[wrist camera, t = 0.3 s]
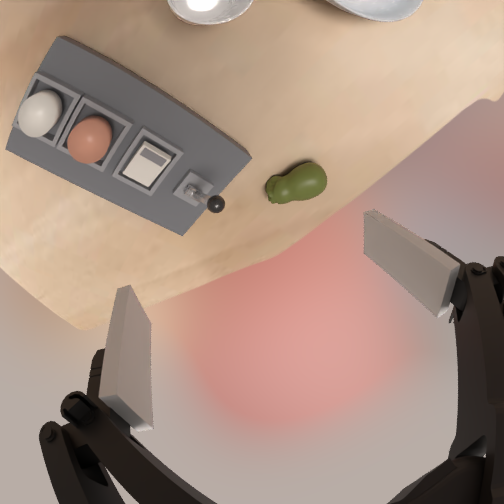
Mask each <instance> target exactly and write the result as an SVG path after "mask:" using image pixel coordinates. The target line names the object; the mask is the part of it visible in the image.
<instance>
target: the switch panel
mask: <svg viewBox="0 0 504 504" xmlns="http://www.w3.org/2000/svg"><path fill="white" fill-rule="evenodd" d="M42 90H52V91H54V92H55V93H57V94H58V96H59V97H60V99H61V102H62V114H61V116H60V119H59V120H58V122H57V123H56V124H55V125H54V126H53V127H52V128H51V129H50V130H49V131H48V132H47V133H46V134H44V135H42V136H40V137H30V136H28V135H26V134H25V133H24V132H23V131H22V130H21V128H20V126H19V122H18V114H19V110H20V107H21V105H22V104H23V102H24V101H25V100H26V99H28V98H29V97H31V96H32V95H34V94H36V93H38V92H39V91H42ZM93 115H94V116H100V117H103V118H104V119H106V120H107V121H108V122H109V124H110V126H111V128H112V140H111V143H110V145H109V147H108V149H107V152H106V153H105V155H104V156H103V157H102V158H101V159H100V160H98V161H97V162H94V163H90V164H85V163H81V162H78V161H77V160H75V159H74V158H73V157H72V156H71V154H70V153H69V150H68V145H67V142H68V137H69V134H70V133H71V131H72V130H73V129H74V127H75V126H76V125H77V124H78V123H79V122H80V121H81V120H82V119H84V118H85V117H88V116H93ZM12 126H13V128H12V130H11V133H10V136H9V139H8V142H7V145H6V150H8V151H10V152H12V153H14V154H16V155H18V156H20V157H22V158H23V159H25V160H27V161H29V162H31V163H33V164H35V165H37V166H39V167H41V168H43V169H45V170H47V171H49V172H51V173H53V174H55V175H57V176H59V177H61V178H63V179H65V180H67V181H69V182H71V183H73V184H75V185H77V186H79V187H81V188H83V189H85V190H88V191H90V192H92V193H94V194H96V195H98V196H100V197H102V198H104V199H106V200H108V201H110V202H112V203H114V204H116V205H118V206H120V207H122V208H124V209H127V210H129V211H131V212H133V213H135V214H137V215H139V216H141V217H143V218H145V219H147V220H150V221H152V222H154V223H156V224H158V225H160V226H162V227H164V228H166V229H168V230H171V231H173V232H175V233H177V234H179V235H181V236H183V235H184V234H185V233H186V232H187V230H188V229H189V228H190V227H191V226H192V225H193V223H194V222H195V221H196V220H197V219H198V218H199V216H200V215H201V214H202V213H203V212H204V211H205V210H206V208H207V205H206V204H204V203H202V202H197V201H196V200H194V199H192V198H190V197H188V196H187V195H185V194H184V190H185V188H186V187H187V185H191V186H193V187H194V188H196V189H198V190H200V191H201V192H203V193H204V194H207V195H209V196H213V195H219V194H220V193H221V192H222V190H223V189H224V188H225V187H226V186H227V185H228V184H229V183H230V182H231V181H232V180H233V178H234V177H235V176H236V175H237V174H238V173H239V172H240V171H241V170H242V169H243V168H244V167H245V166H246V165H247V163H248V162H249V161H250V160H251V159H252V157H251V156H250V154H249V153H248V151H247V150H246V149H245V148H243V147H242V146H241V145H239V144H238V143H237V142H235V141H234V140H233V139H231V138H230V137H229V136H227V135H226V134H225V133H223V132H222V131H221V130H219V129H218V128H216V127H215V126H214V125H212V124H211V123H209V122H208V121H207V120H205V119H204V118H202V117H201V116H200V115H198V114H197V113H195V112H194V111H192V110H191V109H189V108H188V107H186V106H185V105H183V104H182V103H180V102H179V101H177V100H176V99H174V98H173V97H171V96H170V95H168V94H167V93H165V92H164V91H162V90H161V89H159V88H157V87H156V86H154V85H153V84H151V83H150V82H148V81H146V80H145V79H143V78H141V77H140V76H138V75H136V74H135V73H133V72H131V71H130V70H128V69H126V68H125V67H123V66H121V65H119V64H118V63H116V62H114V61H112V60H111V59H109V58H107V57H105V56H103V55H102V54H100V53H98V52H96V51H94V50H92V49H90V48H88V47H87V46H85V45H83V44H81V43H79V42H77V41H75V40H73V39H71V38H69V37H67V36H58V37H57V38H56V39H55V41H54V43H53V44H52V46H51V48H50V49H49V51H48V53H47V54H46V56H45V58H44V60H43V61H42V63H41V65H40V67H39V69H38V71H37V72H35V74H34V76H33V78H32V80H31V82H30V84H29V86H28V88H27V90H26V92H25V95H24V97H23V99H22V101H21V104H20V106H19V109H18V111H17V114H16V116H15V119H14V121H13V124H12ZM144 141H146V142H148V143H150V144H151V145H153V146H155V147H156V148H158V149H160V150H161V151H163V152H165V153H166V154H168V155H170V156H171V161H170V162H169V163H168V164H167V165H166V166H165V168H164V169H163V170H162V171H161V172H160V174H159V175H158V176H157V177H156V178H155V179H154V181H153V182H152V183H151V184H150V186H149V187H147V186H145V185H143V184H141V183H139V182H138V181H136V180H134V179H132V178H130V177H128V176H126V175H124V174H122V173H123V170H124V168H125V167H126V166H127V164H128V163H129V161H130V160H131V158H132V157H133V156H134V154H135V153H136V152H137V150H138V149H139V147H140V146H141V145H142V143H143V142H144Z"/></svg>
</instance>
